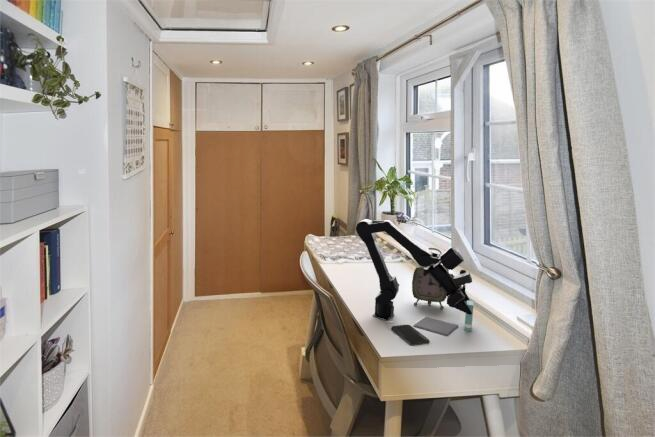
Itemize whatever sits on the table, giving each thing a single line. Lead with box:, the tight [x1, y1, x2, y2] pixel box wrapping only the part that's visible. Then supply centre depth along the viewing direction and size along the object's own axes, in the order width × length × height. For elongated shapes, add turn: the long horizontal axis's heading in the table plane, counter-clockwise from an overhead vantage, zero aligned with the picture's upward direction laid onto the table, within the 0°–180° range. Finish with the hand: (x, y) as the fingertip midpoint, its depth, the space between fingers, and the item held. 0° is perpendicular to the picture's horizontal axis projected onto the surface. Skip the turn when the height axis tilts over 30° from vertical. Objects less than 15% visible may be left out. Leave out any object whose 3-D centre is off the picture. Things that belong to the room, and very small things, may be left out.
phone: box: [390, 324, 430, 346], centre depth 161 cm, size 8×1×15 cm
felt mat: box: [413, 316, 459, 337], centre depth 170 cm, size 13×11×1 cm
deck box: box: [463, 300, 475, 332], centre depth 168 cm, size 2×5×10 cm, turn 163°
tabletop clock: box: [411, 247, 450, 311], centre depth 189 cm, size 14×9×25 cm, turn 73°
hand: (471, 309), depth 167 cm, fingers open, 9 cm apart
